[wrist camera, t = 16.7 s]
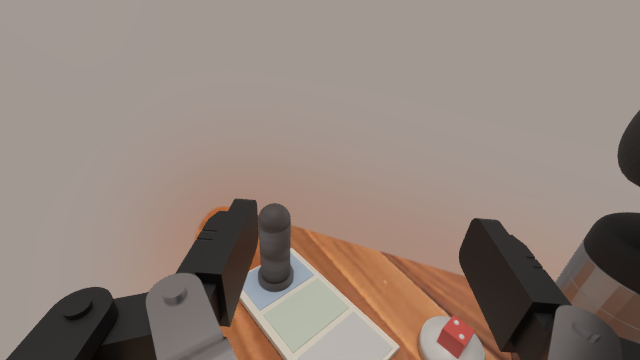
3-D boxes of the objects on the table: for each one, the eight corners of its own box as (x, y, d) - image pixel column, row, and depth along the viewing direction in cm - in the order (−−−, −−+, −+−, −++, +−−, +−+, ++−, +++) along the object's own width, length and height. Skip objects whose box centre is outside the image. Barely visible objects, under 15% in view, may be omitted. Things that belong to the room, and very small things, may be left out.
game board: (291, 252, 49) (291, 246, 48) (398, 351, 36) (400, 345, 35) (229, 287, 42) (228, 281, 41) (331, 424, 29) (332, 418, 28)
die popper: (435, 315, 40) (445, 291, 38) (488, 356, 36) (504, 332, 33) (406, 349, 36) (415, 324, 33) (462, 399, 31) (477, 375, 29)
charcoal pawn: (280, 259, 46) (279, 190, 39) (300, 279, 42) (303, 208, 36) (251, 275, 43) (245, 204, 36) (271, 298, 39) (268, 224, 33)
